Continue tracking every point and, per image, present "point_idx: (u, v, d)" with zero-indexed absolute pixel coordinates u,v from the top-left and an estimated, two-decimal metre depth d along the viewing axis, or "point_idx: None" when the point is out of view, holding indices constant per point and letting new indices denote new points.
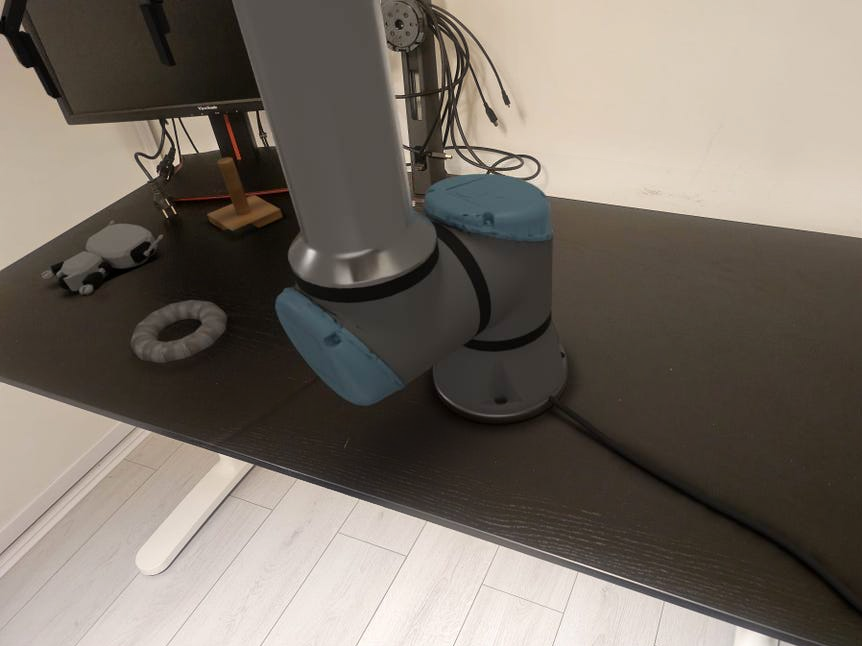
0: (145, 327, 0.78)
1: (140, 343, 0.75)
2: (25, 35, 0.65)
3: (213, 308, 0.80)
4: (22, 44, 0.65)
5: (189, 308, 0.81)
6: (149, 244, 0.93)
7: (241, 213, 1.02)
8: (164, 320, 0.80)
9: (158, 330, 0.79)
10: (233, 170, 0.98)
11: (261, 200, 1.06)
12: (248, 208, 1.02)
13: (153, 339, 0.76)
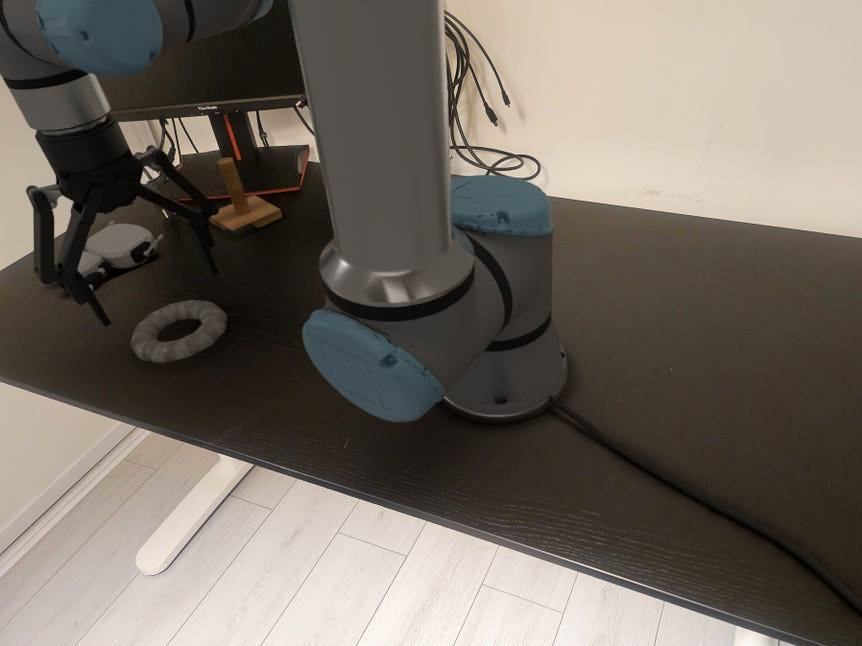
0: (145, 327, 0.78)
1: (140, 343, 0.75)
2: (80, 279, 0.67)
3: (213, 308, 0.80)
4: (77, 286, 0.67)
5: (189, 308, 0.81)
6: (149, 244, 0.93)
7: (241, 213, 1.02)
8: (164, 320, 0.80)
9: (158, 330, 0.79)
10: (233, 170, 0.98)
11: (261, 200, 1.06)
12: (248, 208, 1.02)
13: (153, 339, 0.76)
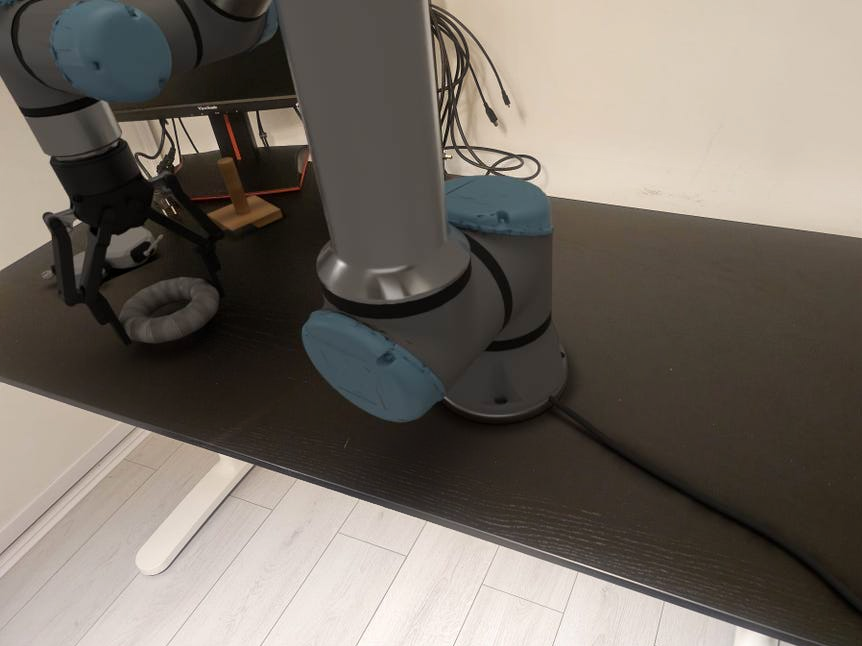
0: (133, 304, 0.75)
1: (128, 319, 0.72)
2: (102, 300, 0.69)
3: (204, 284, 0.77)
4: (99, 307, 0.69)
5: (179, 285, 0.78)
6: (149, 244, 0.93)
7: (241, 213, 1.02)
8: (154, 297, 0.77)
9: (147, 307, 0.76)
10: (233, 170, 0.98)
11: (261, 200, 1.06)
12: (248, 208, 1.02)
13: (141, 315, 0.73)
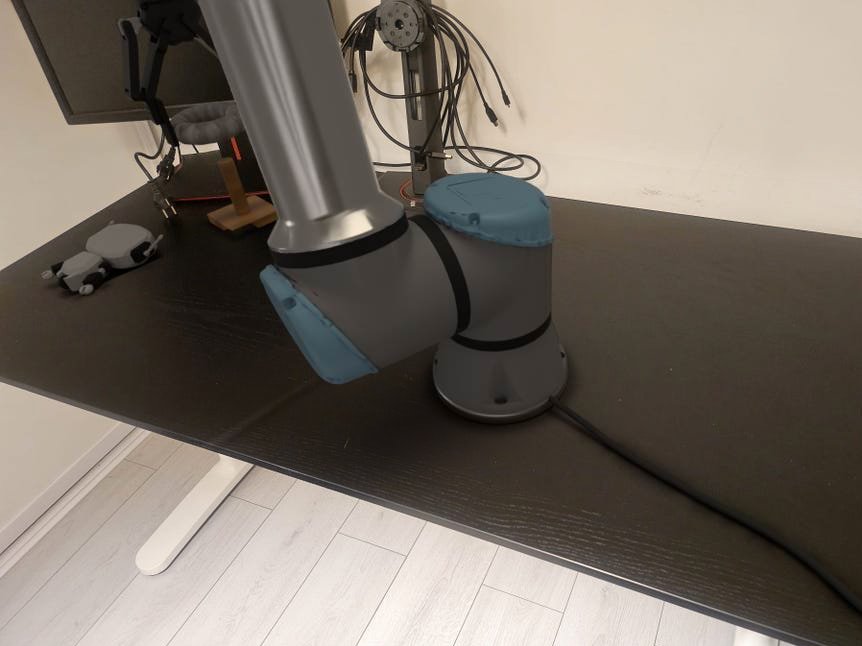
0: (179, 116, 0.92)
1: (177, 124, 0.89)
2: (159, 101, 0.86)
3: None
4: (155, 108, 0.86)
5: (216, 107, 0.94)
6: (149, 244, 0.93)
7: (241, 213, 1.02)
8: (195, 115, 0.94)
9: (190, 122, 0.93)
10: (233, 170, 0.98)
11: (261, 200, 1.06)
12: (248, 208, 1.02)
13: None
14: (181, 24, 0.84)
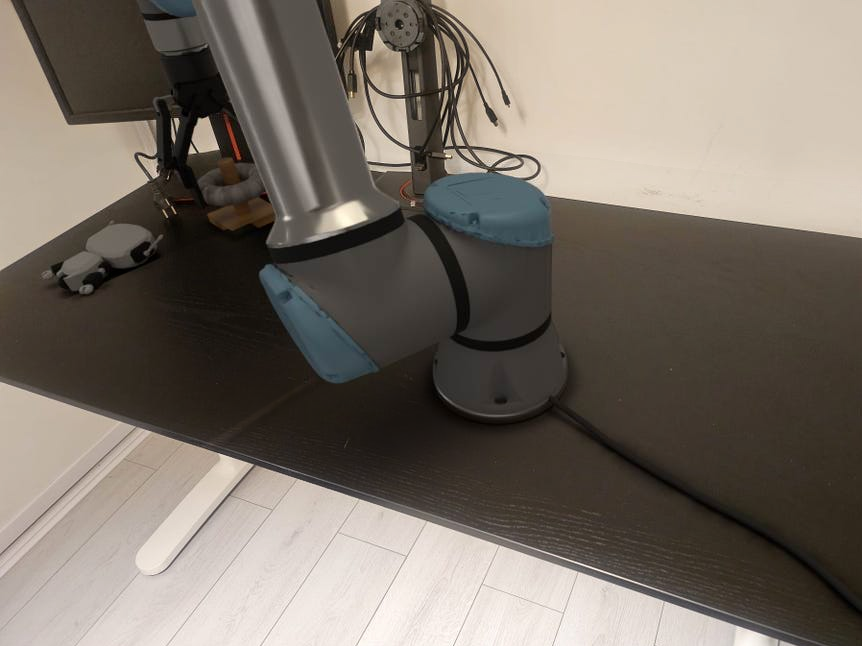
0: (206, 178, 0.99)
1: (204, 187, 0.96)
2: (188, 168, 0.93)
3: None
4: (185, 174, 0.93)
5: (240, 168, 1.02)
6: (149, 244, 0.93)
7: (241, 213, 1.02)
8: (220, 176, 1.01)
9: (216, 183, 1.00)
10: (233, 170, 0.98)
11: (261, 200, 1.06)
12: (248, 208, 1.02)
13: (214, 185, 0.97)
14: (210, 99, 0.91)
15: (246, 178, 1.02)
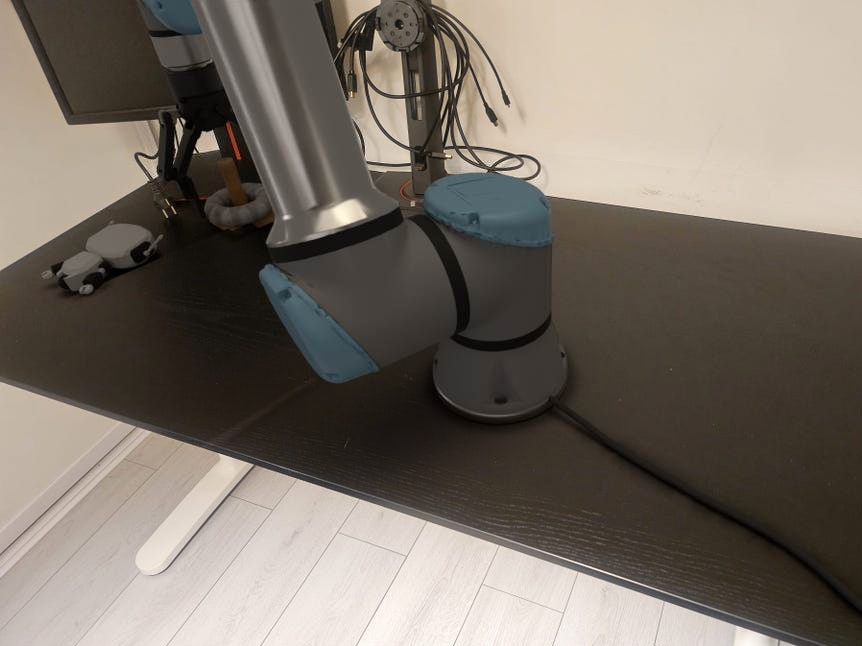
0: (214, 199, 1.01)
1: (212, 208, 0.99)
2: (188, 179, 0.93)
3: None
4: (185, 185, 0.94)
5: (247, 188, 1.04)
6: (149, 244, 0.93)
7: None
8: (228, 196, 1.03)
9: (224, 203, 1.02)
10: (233, 170, 0.98)
11: None
12: None
13: (222, 206, 0.99)
14: (215, 113, 0.92)
15: (253, 198, 1.04)
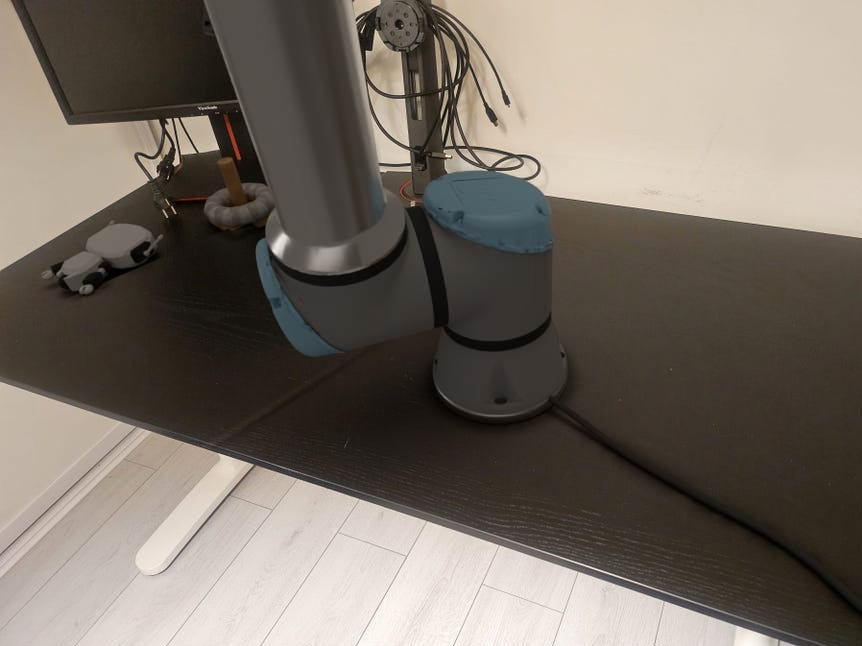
0: (214, 199, 1.01)
1: (212, 208, 0.99)
2: None
3: (266, 187, 1.03)
4: None
5: (247, 188, 1.04)
6: (149, 244, 0.93)
7: None
8: (228, 196, 1.03)
9: (224, 203, 1.02)
10: (233, 170, 0.98)
11: None
12: None
13: (222, 206, 0.99)
14: None
15: (253, 198, 1.04)
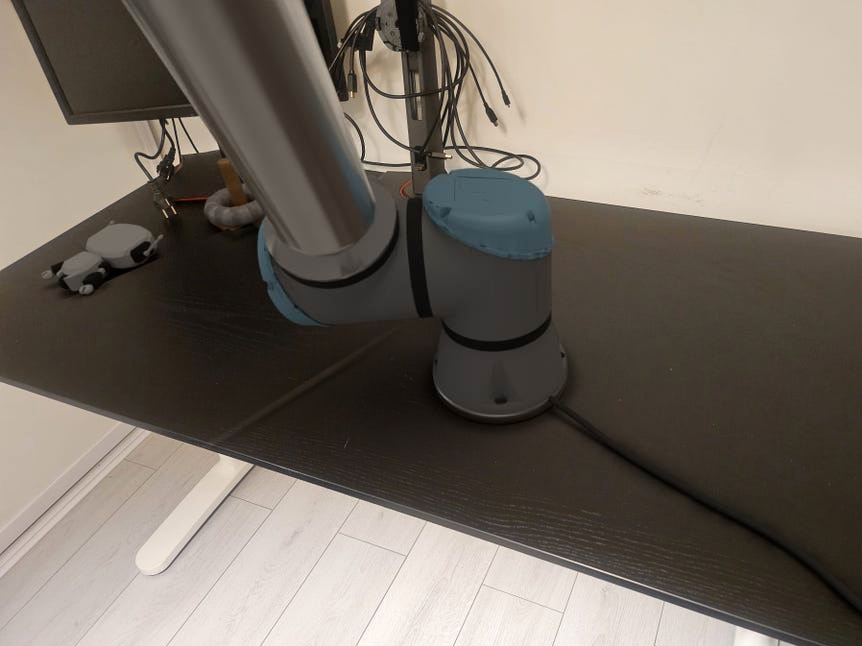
0: (214, 199, 1.01)
1: (212, 208, 0.99)
2: (313, 19, 0.66)
3: None
4: None
5: (247, 188, 1.04)
6: (149, 244, 0.93)
7: None
8: (228, 196, 1.03)
9: (224, 203, 1.02)
10: (233, 170, 0.98)
11: None
12: None
13: (222, 206, 0.99)
14: None
15: (253, 198, 1.04)
